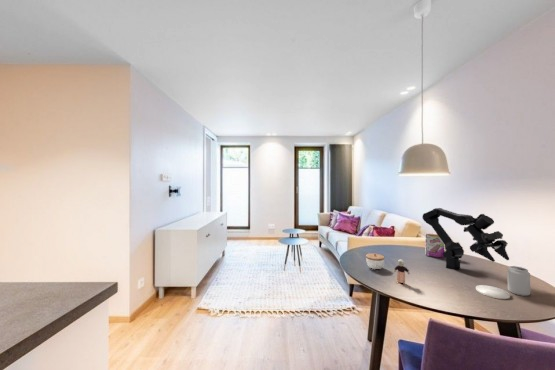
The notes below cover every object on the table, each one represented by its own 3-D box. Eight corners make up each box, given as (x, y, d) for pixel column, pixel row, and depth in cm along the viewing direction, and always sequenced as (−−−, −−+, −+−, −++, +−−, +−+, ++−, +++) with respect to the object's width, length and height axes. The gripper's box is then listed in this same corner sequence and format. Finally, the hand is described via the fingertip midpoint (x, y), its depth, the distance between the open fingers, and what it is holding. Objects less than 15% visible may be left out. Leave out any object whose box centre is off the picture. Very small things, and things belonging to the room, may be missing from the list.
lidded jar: (365, 270, 140) (365, 255, 140) (366, 264, 150) (365, 250, 150) (385, 272, 136) (384, 256, 136) (383, 266, 146) (383, 251, 146)
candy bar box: (426, 256, 164) (425, 233, 164) (425, 254, 168) (424, 232, 168) (445, 258, 159) (444, 234, 159) (443, 256, 164) (442, 233, 164)
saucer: (477, 294, 108) (477, 292, 108) (474, 285, 118) (474, 283, 118) (512, 301, 101) (512, 299, 101) (507, 291, 110) (507, 289, 110)
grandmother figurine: (393, 283, 122) (393, 259, 121) (393, 280, 125) (393, 257, 125) (410, 285, 118) (410, 261, 118) (409, 282, 122) (409, 259, 122)
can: (535, 297, 104) (534, 271, 104) (515, 296, 106) (515, 270, 106) (521, 289, 112) (521, 265, 112) (503, 288, 113) (503, 264, 113)
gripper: (475, 227, 119) (499, 254, 108) (503, 225, 122) (529, 251, 112) (460, 238, 127) (482, 264, 116) (487, 236, 130) (510, 261, 119)
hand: (501, 260), depth 116 cm, fingers open, 9 cm apart
